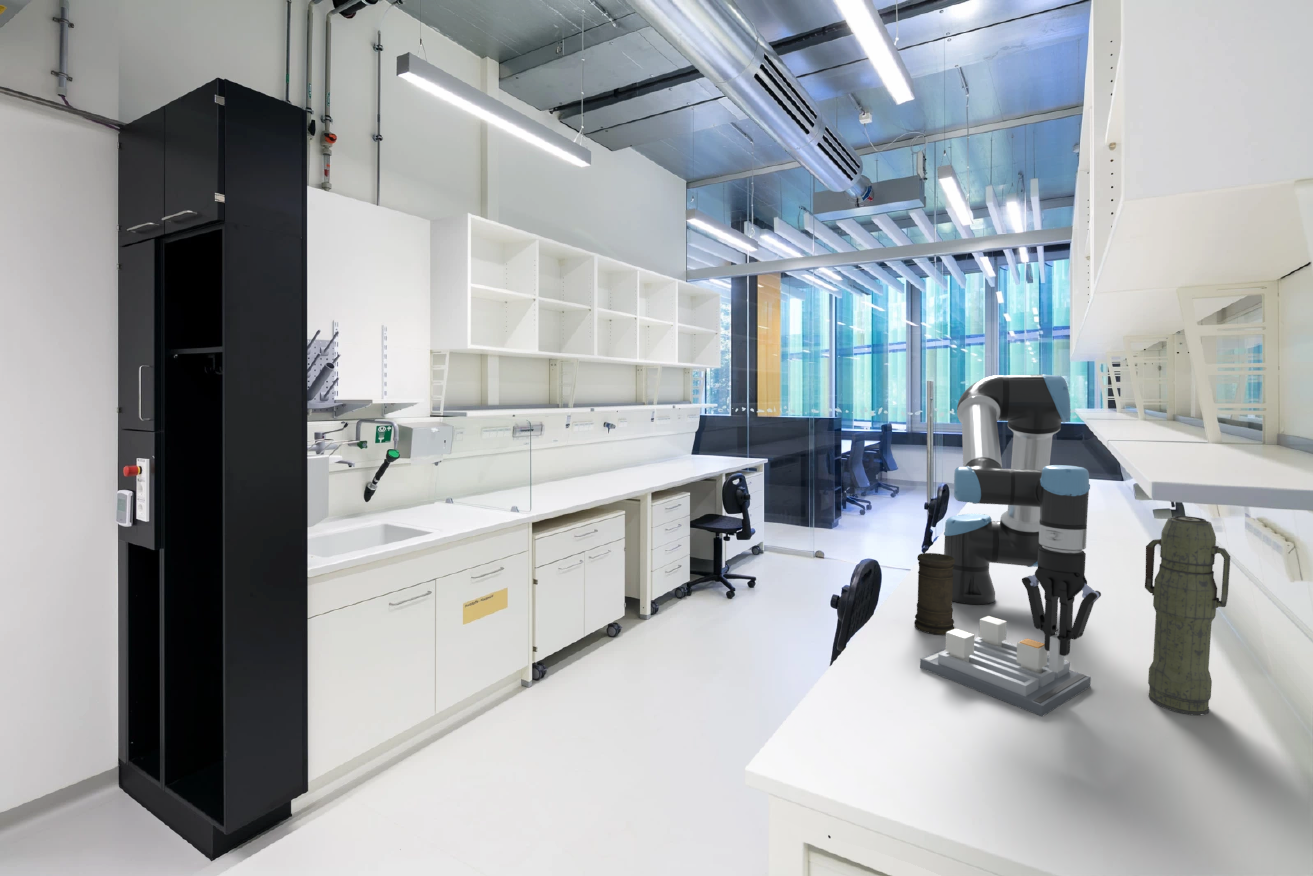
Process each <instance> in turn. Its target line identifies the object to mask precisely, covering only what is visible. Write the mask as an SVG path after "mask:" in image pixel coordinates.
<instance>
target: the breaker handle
mask: <svg viewBox="0 0 1313 876" xmlns="http://www.w3.org/2000/svg"><path fill="white" fill-rule="evenodd" d="M1016 645H1017V660H1016V662H1017V663H1020V664H1021V667H1023V668H1026V669H1029V670H1032V671H1035V672H1038V673H1040V674H1042V667H1044V666H1046V665H1047V655H1048V652H1049V651H1046V650H1045V642H1044V643H1043V642H1039V641H1037V640H1035V639H1034V640H1033V639H1030V638H1025V639H1022V640H1020V641H1018V642H1016Z"/></svg>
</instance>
